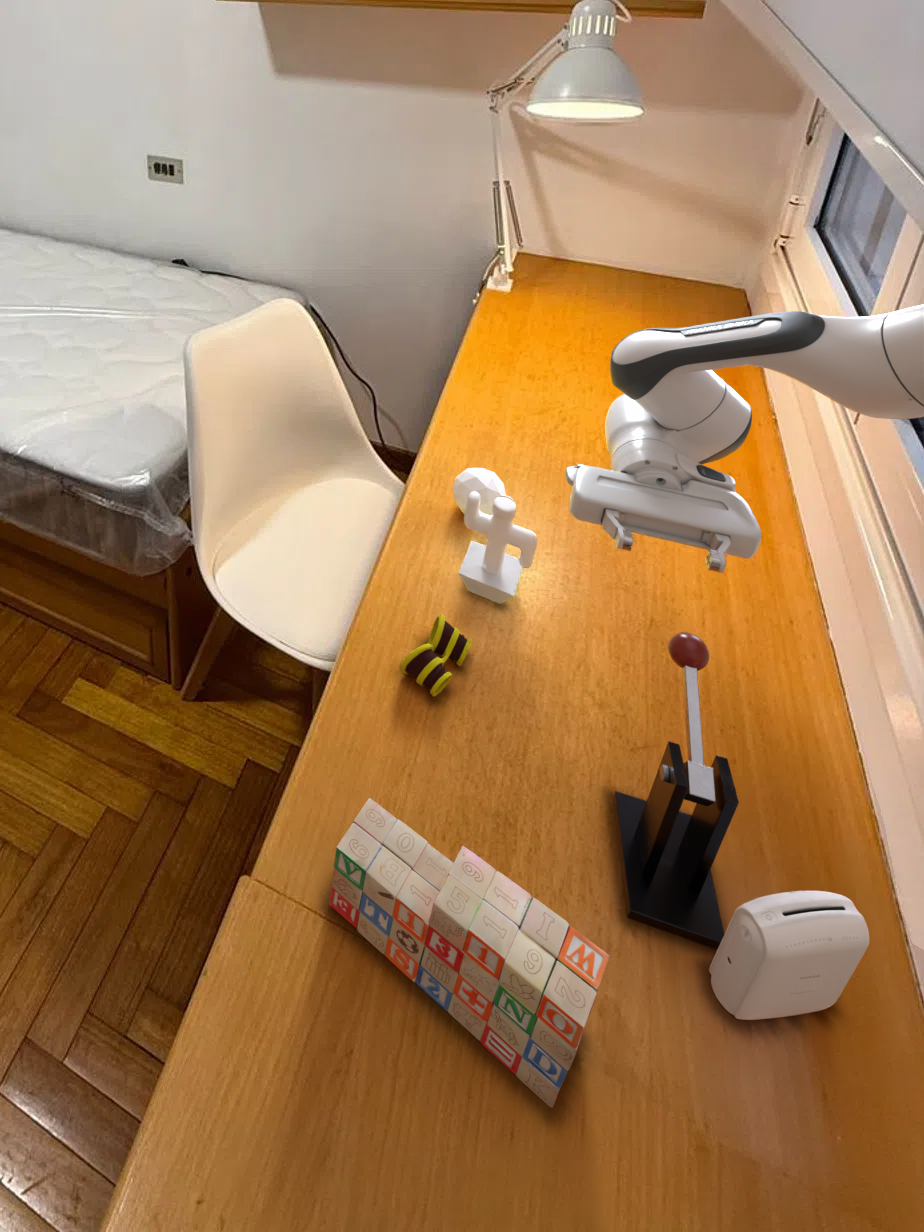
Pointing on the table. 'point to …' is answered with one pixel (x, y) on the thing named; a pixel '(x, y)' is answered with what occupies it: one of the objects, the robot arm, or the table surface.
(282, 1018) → the table surface
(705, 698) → the table surface
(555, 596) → the table surface
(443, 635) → the opera glasses
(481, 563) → the figurine
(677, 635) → the lever
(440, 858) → the stack of blocks
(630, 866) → the bracket
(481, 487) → the geometric ball
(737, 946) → the photo printer
